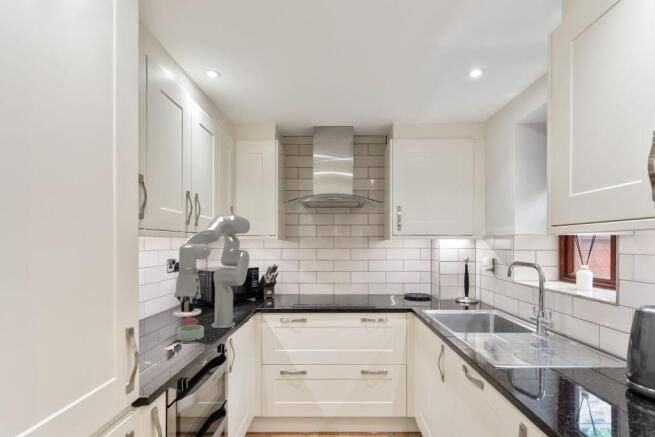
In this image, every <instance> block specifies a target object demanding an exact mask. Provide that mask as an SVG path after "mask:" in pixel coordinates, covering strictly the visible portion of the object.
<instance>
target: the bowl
mask: <svg viewBox="0 0 655 437" xmlns="http://www.w3.org/2000/svg"><path fill="white" fill-rule="evenodd" d="M204 336H205V327H204V326H203V325H200V324H196V325H189V326H183V327H182V326H180V327H178V328H177V339H178V341H182V340H183V341H184V342H185V341H186V342H189V341H196V339H198V340H200V339H202V338H204Z"/></svg>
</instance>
